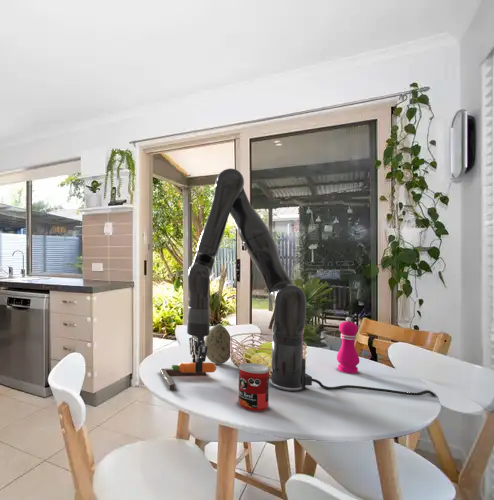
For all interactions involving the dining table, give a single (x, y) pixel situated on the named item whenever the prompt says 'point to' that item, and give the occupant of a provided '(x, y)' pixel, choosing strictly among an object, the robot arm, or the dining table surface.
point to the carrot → (191, 367)
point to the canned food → (253, 386)
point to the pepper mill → (348, 348)
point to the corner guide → (167, 372)
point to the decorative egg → (218, 345)
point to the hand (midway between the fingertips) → (197, 370)
